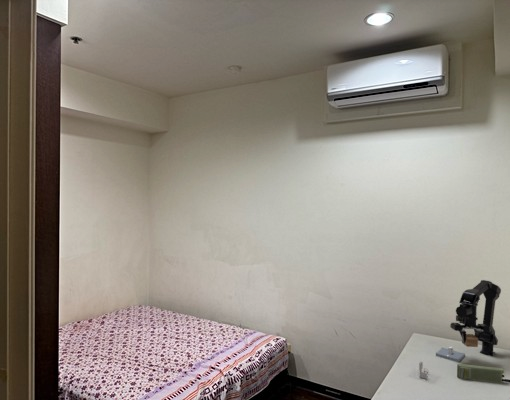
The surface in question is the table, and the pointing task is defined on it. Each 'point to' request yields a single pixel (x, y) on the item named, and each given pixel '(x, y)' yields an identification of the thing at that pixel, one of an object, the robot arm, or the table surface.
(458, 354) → the light switch plate
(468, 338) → the taped cardboard box
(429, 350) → the table surface
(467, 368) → the handheld radio
